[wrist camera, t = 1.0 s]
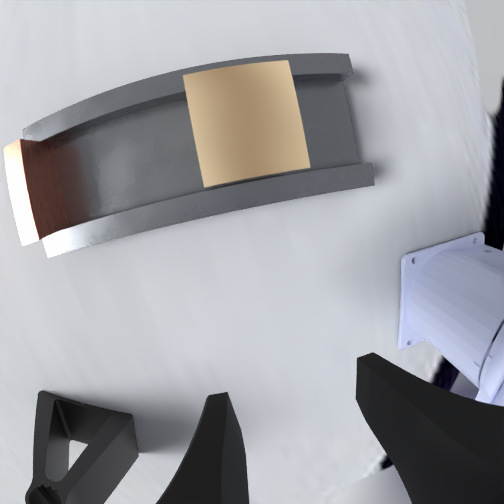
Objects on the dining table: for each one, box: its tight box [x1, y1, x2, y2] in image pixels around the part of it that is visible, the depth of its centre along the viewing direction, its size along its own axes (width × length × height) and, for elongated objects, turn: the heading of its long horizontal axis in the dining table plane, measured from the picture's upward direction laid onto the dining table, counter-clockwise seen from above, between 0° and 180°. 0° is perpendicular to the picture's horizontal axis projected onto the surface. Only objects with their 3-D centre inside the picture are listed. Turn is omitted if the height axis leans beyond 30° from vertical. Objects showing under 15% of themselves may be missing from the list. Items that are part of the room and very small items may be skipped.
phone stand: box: [25, 391, 139, 504], centre depth 14 cm, size 9×6×12 cm, turn 80°
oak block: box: [183, 60, 310, 187], centre depth 12 cm, size 4×4×4 cm
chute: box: [4, 53, 375, 258], centre depth 13 cm, size 18×7×4 cm, turn 100°
